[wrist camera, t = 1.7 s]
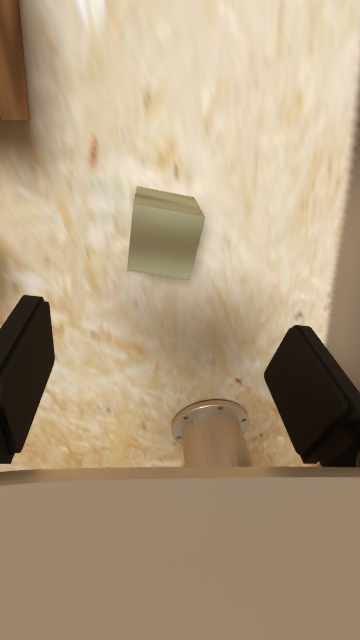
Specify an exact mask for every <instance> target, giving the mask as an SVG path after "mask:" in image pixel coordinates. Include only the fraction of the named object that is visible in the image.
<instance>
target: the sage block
mask: <svg viewBox="0 0 360 640" xmlns="http://www.w3.org/2000/svg"><path fill="white" fill-rule="evenodd" d="M204 219H205V216H204V215H203V213H202V211H201V209H200V207H199V205H198V204H197V202H196V200H195V198H194V197H189V196H184V195H179V194H174V193H169V192H164V191H159V190H154V189H149V188H144V187H139V186H137V188H136V194H135V199H134V204H133V214H132V225H131V236H130V246H129V257H128V267H127V271H131V272H139V273H146V274H153V275H160V276H167V277H175V278H182V279H189V280H190V276H191V272H192V268H193V264H194V260H195V256H196V251H197V247H198V243H199V239H200V235H201V231H202V227H203V223H204Z"/></svg>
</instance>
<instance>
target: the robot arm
mask: <svg viewBox="0 0 360 640" xmlns="http://www.w3.org/2000/svg"><path fill="white" fill-rule="evenodd" d="M54 360H55V354H54V344H53V335H52V325H51V316H50V306H49V302H46V301H44V299H43V297H38V296H29V295H23V296H22V298H21V299H20V301H19V302H18V303H17V305H16V306H15V308H14V309H13V311H12V312H11V314H10V315H9V317H8V318H7V320H6V321H5V323H4V324H3V326H2V327H1V329H0V464H11V462H12V459H13V456H14V454H15V453H20V452H21V450H22V448H23V446H24V443H25V441H26V438H27V435H28V433H29V430H30V427H31V424H32V422H33V419H34V416H35V414H36V411H37V408H38V406H39V403H40V400H41V398H42V395H43V392H44V389H45V387H46V384H47V381H48V379H49V376H50V373H51V371H52V368H53V365H54ZM264 379H265V381H266V384H267V386H268V388H269V391H270V393H271V395H272V398H273V400H274V402H275V404H276V407H277V409H278V411H279V414H280V416H281V418H282V421H283V423H284V425H285V428H286V430H287V432H288V435H289V437H290V439H291V442H292V444H293V446H294V449H295V451H296V452H297V453H298V454H299V455H300V456H301V459H302V461H303V463H304V464H316V463H317V462H318V461H320V463H321V465H322V467H252V464H251V460H250V457H249V453H248V450H247V447H246V443H245V440H244V436H243V434H244V433H245V431H246V430H247V428H248V425H249V419H248V416H247V413H246V411H245V410H244V409H243V408H242V407H241V406H240V405H238V404H236V403H233V402H229V401H224V400H209V401H203V402H200V403H196V404H194V405H191V406H189V407H187V408H185V409H184V410H182V411H181V412H180V413H179V414H178V415H177V416H176V417H175V418H174V420H173V422H172V434H173V437H174V438H175V440H176V441H177V442H179V443H180V444H182V445H183V450H184V460H185V467H128V468H66V469H34V470H20V471H6V472H0V640H360V393H359V391H358V390H357V389H356V387H355V386H354V385H353V383H352V382H351V380H350V379H349V378H348V376H347V375H346V374H345V373H344V371H343V370H342V368H341V367H340V366H339V365H338V363H337V362H336V360H335V359H334V358H333V356H332V355H331V354H330V353H329V351H328V350H327V348H326V347H325V346H324V344H323V343H322V342H321V340H320V339H319V338H318V336H317V335H316V334H315V332H314V331H313V329H312V328H311V327H309V326H301V325H295V326H293V327H292V328H290V329H289V330H288V331H287V333H286V335H285V337H284V338H283V340H282V342H281V344H280V345H279V347H278V349H277V351H276V353H275V354H274V356H273V358H272V360H271V361H270V363H269V365H268V367H267V368H266V370H265V373H264Z"/></svg>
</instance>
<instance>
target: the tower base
mask: <svg viewBox="0 0 360 640" xmlns="http://www.w3.org/2000/svg"><path fill="white" fill-rule="evenodd" d="M0 120H30V116H29V106H28V95H27V84H26V74H25V63H24V53H23V42H22V31H21V21H20V10H19V0H0Z"/></svg>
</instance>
